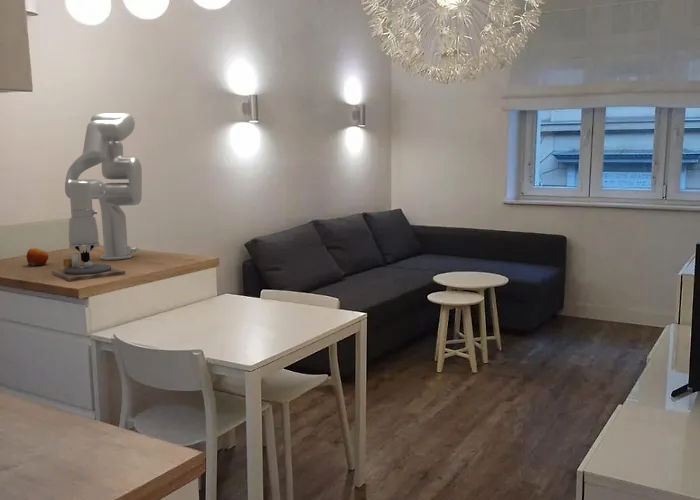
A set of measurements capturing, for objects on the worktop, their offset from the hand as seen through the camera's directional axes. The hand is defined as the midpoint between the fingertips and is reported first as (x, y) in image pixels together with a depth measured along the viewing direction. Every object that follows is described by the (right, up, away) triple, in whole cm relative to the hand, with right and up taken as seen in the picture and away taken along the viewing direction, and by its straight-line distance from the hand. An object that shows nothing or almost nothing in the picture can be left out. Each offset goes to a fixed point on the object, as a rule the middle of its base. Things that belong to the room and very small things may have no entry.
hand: (85, 262), depth 257 cm
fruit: (-26, -2, +17) cm, 31 cm away
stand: (+3, -4, -5) cm, 7 cm away
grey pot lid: (+3, -3, -5) cm, 6 cm away
